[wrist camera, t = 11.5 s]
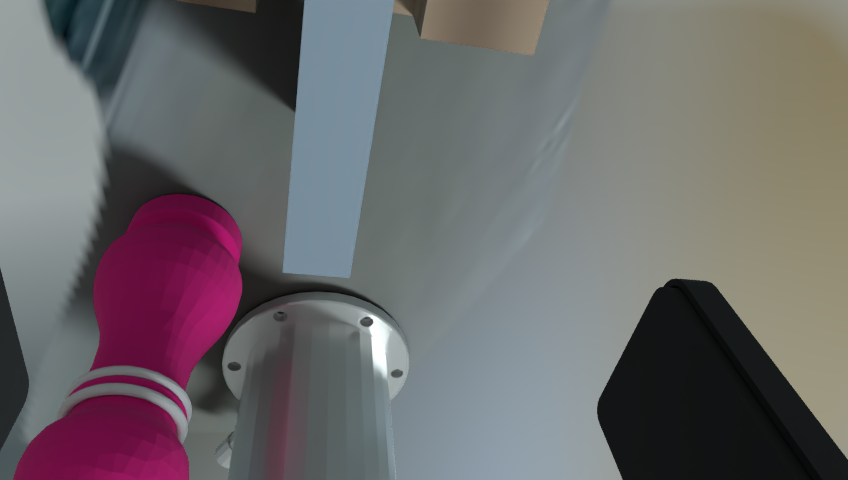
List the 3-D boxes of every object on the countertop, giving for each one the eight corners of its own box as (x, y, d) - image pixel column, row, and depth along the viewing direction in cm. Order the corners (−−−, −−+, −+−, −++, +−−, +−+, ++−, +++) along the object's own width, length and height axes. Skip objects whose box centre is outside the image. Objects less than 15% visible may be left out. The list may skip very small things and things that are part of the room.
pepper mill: (109, 183, 33) (-103, 546, 17) (246, 185, 34) (164, 531, 18) (134, 285, 38) (-19, 652, 22) (255, 284, 39) (195, 635, 23)
